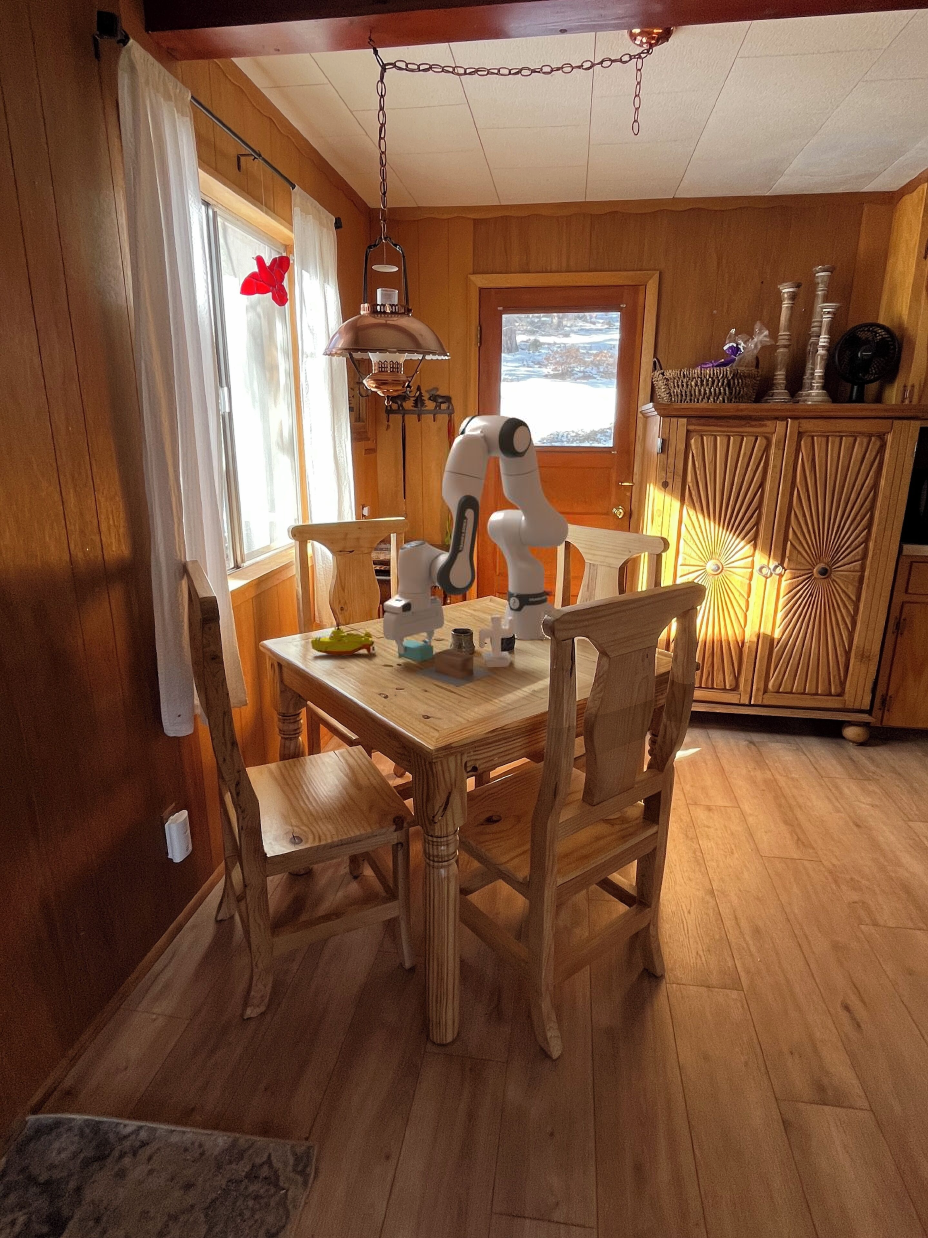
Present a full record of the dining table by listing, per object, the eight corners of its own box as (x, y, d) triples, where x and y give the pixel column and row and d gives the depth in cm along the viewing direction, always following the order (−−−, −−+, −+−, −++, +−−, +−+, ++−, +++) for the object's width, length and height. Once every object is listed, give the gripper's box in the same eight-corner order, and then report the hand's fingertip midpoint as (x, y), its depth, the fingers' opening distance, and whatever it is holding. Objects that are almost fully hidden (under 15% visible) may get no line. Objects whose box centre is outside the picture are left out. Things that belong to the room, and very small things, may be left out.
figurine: (477, 665, 193) (477, 612, 189) (511, 664, 194) (511, 611, 190) (480, 674, 186) (480, 619, 182) (515, 672, 187) (516, 618, 183)
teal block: (411, 656, 202) (410, 639, 200) (433, 663, 196) (433, 645, 194) (398, 660, 198) (397, 643, 197) (420, 667, 192) (420, 649, 191)
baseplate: (451, 665, 193) (451, 660, 193) (494, 678, 182) (495, 672, 182) (413, 678, 183) (413, 672, 183) (457, 692, 173) (457, 686, 172)
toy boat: (374, 657, 201) (372, 623, 198) (310, 659, 199) (308, 625, 197) (375, 650, 207) (373, 618, 204) (313, 652, 206) (311, 619, 203)
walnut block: (448, 666, 187) (448, 648, 186) (473, 674, 181) (473, 655, 180) (435, 671, 184) (434, 653, 182) (460, 679, 178) (459, 660, 176)
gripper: (433, 593, 201) (433, 639, 205) (378, 605, 187) (380, 654, 190) (448, 596, 197) (449, 643, 200) (394, 608, 183) (395, 659, 186)
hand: (415, 649), depth 195 cm, fingers open, 8 cm apart
